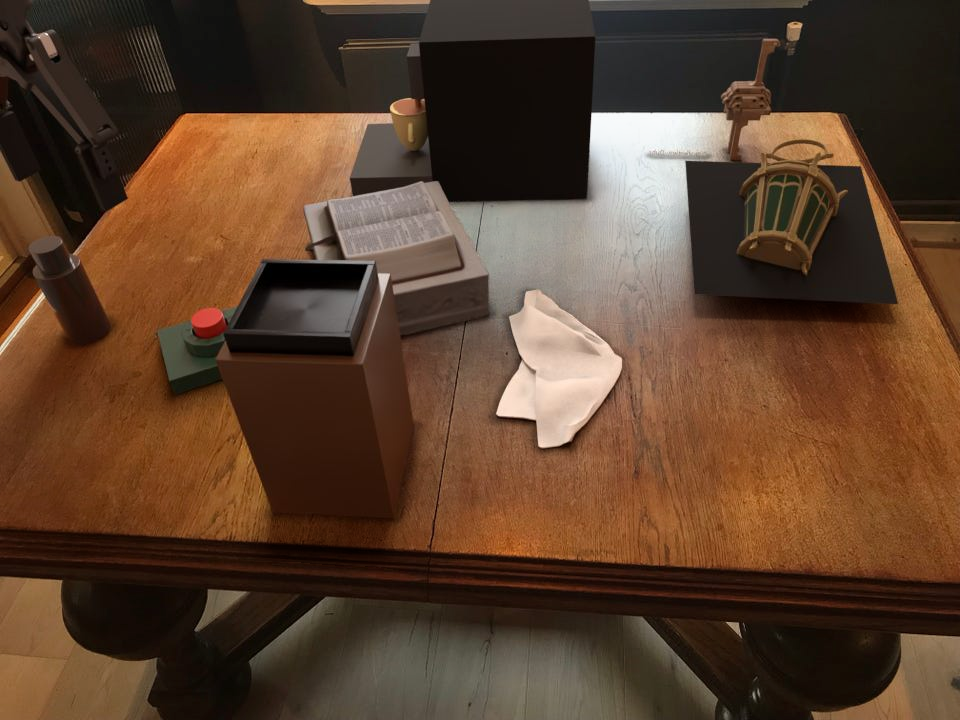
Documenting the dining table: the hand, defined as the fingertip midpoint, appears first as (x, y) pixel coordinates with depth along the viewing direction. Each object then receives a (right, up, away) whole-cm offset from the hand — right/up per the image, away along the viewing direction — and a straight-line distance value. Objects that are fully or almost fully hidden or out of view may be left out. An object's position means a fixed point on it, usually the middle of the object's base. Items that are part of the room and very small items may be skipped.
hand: (70, 189), depth 79 cm
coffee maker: (+41, +12, +43) cm, 61 cm away
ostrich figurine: (+78, +15, +44) cm, 90 cm away
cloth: (+51, -18, +9) cm, 55 cm away
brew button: (+11, -14, +11) cm, 21 cm away
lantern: (+81, -3, +24) cm, 84 cm away
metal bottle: (-7, -14, +18) cm, 24 cm away
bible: (+31, -7, +23) cm, 39 cm away
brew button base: (+11, -17, +13) cm, 24 cm away
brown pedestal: (+28, -28, -1) cm, 40 cm away
